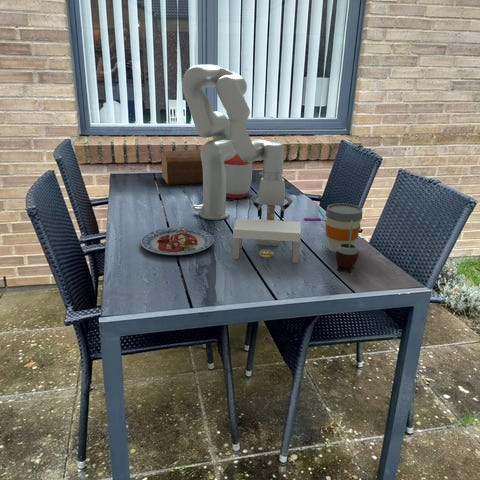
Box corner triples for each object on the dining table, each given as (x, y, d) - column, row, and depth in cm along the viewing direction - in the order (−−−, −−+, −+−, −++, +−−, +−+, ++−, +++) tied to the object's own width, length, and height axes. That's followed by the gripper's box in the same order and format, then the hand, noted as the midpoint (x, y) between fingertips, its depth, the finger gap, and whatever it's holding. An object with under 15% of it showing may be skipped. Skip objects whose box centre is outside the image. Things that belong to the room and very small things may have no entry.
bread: (223, 182, 249) (223, 152, 243) (167, 186, 240) (166, 154, 234) (214, 174, 265) (214, 146, 259) (161, 177, 256) (160, 148, 250)
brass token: (258, 258, 159) (258, 254, 159) (259, 252, 164) (259, 249, 163) (273, 259, 159) (273, 255, 158) (273, 253, 163) (273, 250, 163)
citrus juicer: (261, 196, 226) (262, 155, 219) (230, 201, 217) (231, 159, 209) (242, 188, 238) (243, 149, 230) (213, 193, 229) (213, 152, 221)
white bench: (232, 258, 157) (233, 229, 154) (236, 246, 168) (237, 218, 164) (298, 262, 155) (300, 233, 152) (298, 250, 166) (300, 222, 162)
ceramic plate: (134, 237, 174) (133, 229, 173) (200, 229, 184) (200, 221, 182) (150, 264, 152) (149, 256, 151) (224, 253, 162) (224, 245, 161)
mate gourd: (342, 275, 148) (347, 230, 142) (328, 265, 154) (332, 222, 149) (361, 271, 150) (367, 227, 145) (347, 262, 157) (352, 219, 151)
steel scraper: (256, 244, 169) (257, 213, 165) (260, 225, 189) (261, 196, 184) (278, 246, 169) (280, 214, 164) (280, 226, 188) (281, 197, 184)
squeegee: (298, 207, 207) (321, 207, 208) (298, 211, 208) (320, 211, 208) (311, 232, 181) (337, 232, 182) (311, 236, 182) (337, 236, 182)
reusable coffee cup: (331, 256, 161) (336, 215, 155) (316, 243, 172) (320, 204, 166) (364, 253, 164) (370, 213, 158) (347, 240, 175) (352, 202, 170)
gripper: (249, 176, 176) (247, 220, 183) (295, 178, 175) (292, 223, 181) (250, 172, 183) (249, 214, 190) (295, 174, 182) (292, 217, 188)
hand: (270, 218), depth 186 cm, fingers open, 7 cm apart
